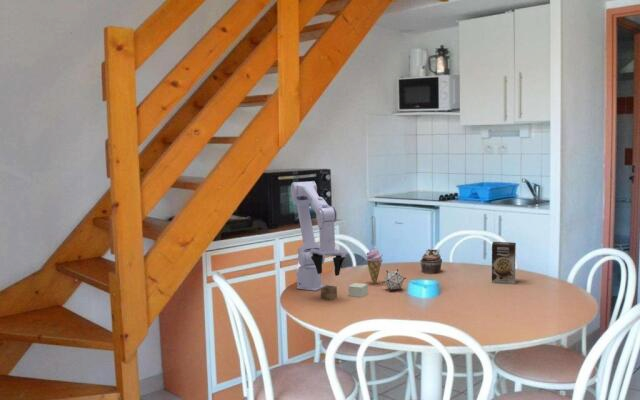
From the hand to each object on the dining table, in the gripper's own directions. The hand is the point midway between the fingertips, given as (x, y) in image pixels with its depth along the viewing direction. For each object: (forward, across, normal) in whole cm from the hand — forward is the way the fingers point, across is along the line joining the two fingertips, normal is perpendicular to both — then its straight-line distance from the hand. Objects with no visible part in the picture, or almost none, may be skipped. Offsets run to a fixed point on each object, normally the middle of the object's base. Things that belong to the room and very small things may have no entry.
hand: (328, 274), depth 220 cm
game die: (+10, +18, +21) cm, 29 cm away
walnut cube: (+10, 0, 0) cm, 10 cm away
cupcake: (+10, +21, +56) cm, 61 cm away
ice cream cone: (+10, +7, +27) cm, 29 cm away
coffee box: (+10, +54, +50) cm, 74 cm away
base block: (+10, +8, +9) cm, 15 cm away
